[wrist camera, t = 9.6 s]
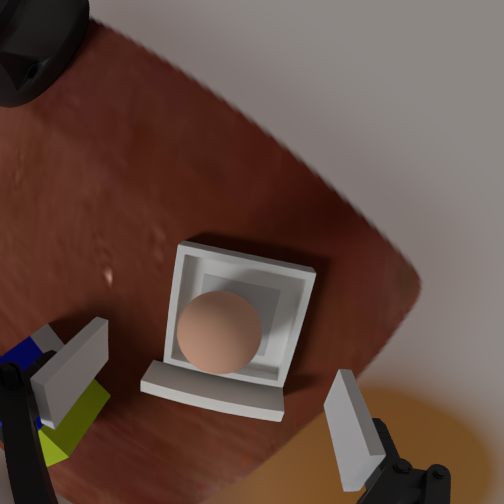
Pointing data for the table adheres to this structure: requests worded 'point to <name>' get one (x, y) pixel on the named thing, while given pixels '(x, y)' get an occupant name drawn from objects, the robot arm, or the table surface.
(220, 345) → the ball
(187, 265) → the light gray square tray
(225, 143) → the table surface
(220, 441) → the table surface
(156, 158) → the table surface
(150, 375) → the low wall
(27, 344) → the puzzle toy
